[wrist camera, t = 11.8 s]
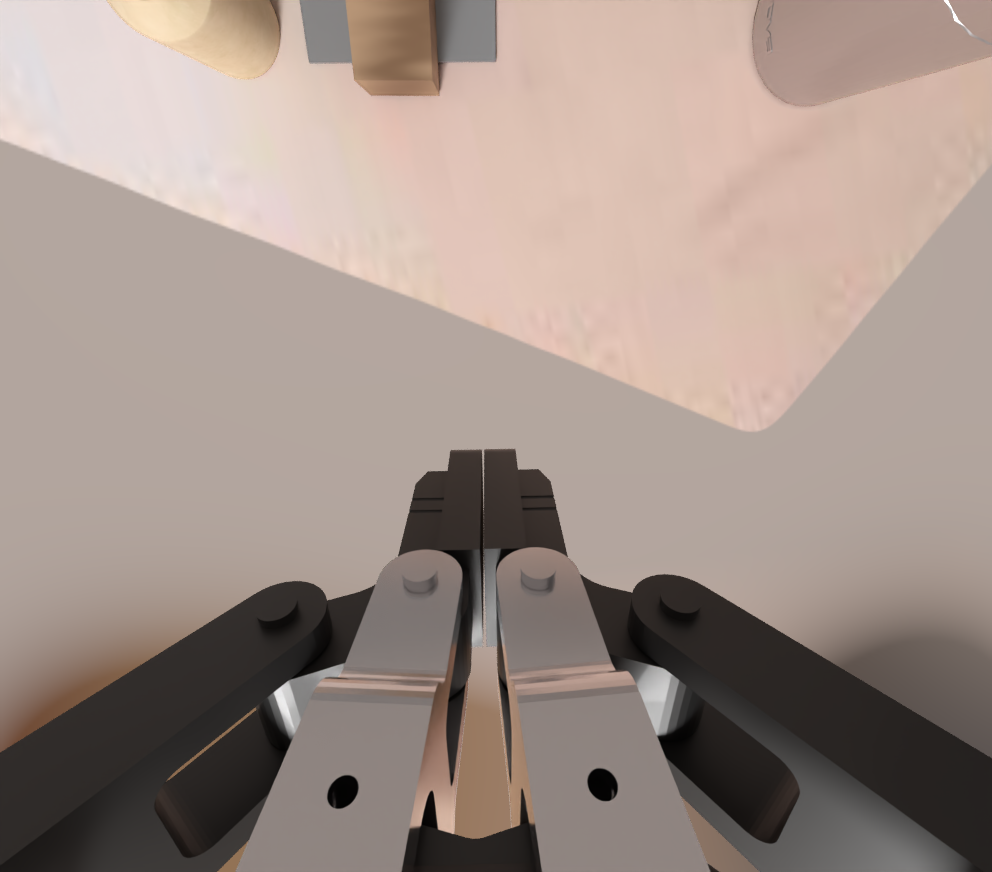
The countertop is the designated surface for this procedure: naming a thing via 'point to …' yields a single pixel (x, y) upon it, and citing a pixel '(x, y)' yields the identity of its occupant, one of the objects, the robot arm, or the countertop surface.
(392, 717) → the robot arm
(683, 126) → the countertop surface
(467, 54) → the mat
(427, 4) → the tan rectangular block
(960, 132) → the countertop surface
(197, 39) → the candle
